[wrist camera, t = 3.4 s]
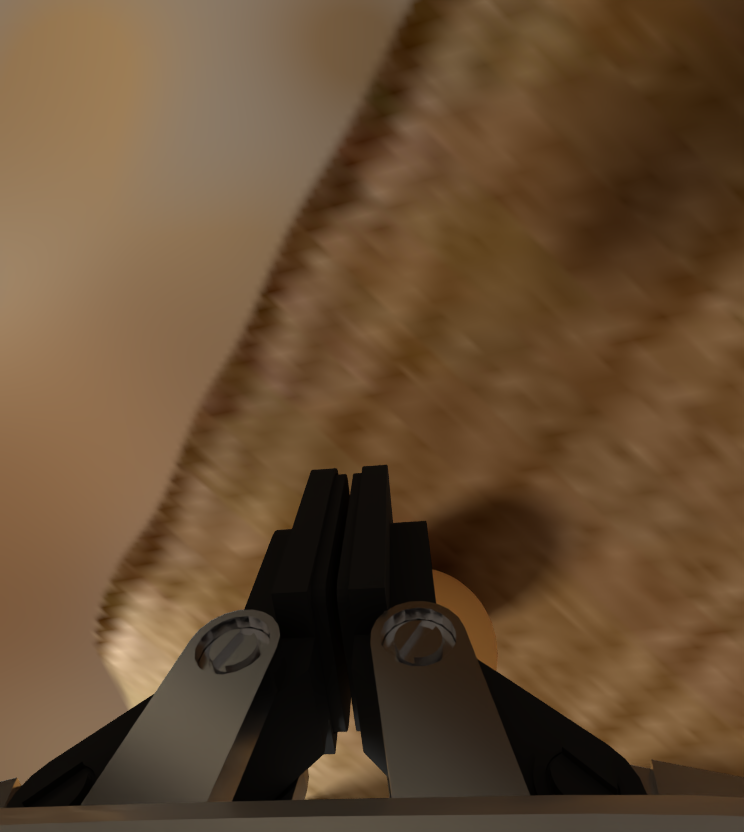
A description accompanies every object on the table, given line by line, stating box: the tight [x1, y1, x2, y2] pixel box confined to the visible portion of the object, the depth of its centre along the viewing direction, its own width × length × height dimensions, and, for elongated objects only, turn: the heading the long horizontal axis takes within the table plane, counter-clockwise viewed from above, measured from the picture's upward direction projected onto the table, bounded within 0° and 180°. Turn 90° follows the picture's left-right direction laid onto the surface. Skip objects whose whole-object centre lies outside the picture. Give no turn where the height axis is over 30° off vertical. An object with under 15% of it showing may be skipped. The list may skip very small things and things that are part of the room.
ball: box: [432, 569, 498, 671], centre depth 20 cm, size 6×6×6 cm
